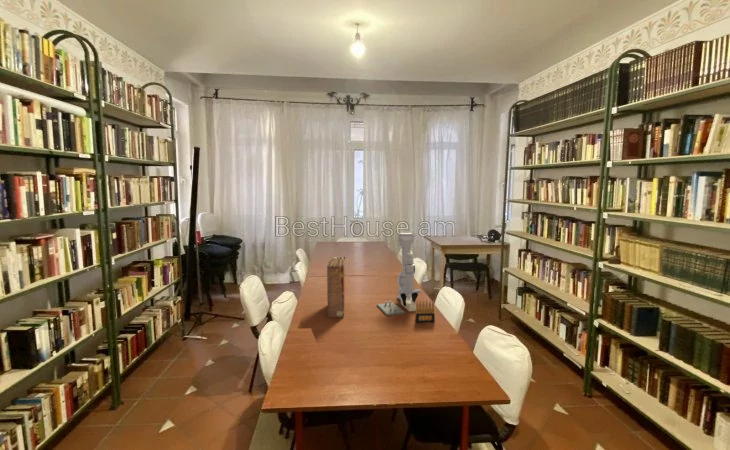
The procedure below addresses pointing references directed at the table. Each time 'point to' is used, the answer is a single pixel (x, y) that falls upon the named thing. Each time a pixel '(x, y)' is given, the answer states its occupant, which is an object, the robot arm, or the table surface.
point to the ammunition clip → (424, 313)
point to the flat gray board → (390, 308)
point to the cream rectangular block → (409, 304)
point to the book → (335, 288)
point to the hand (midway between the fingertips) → (408, 305)
